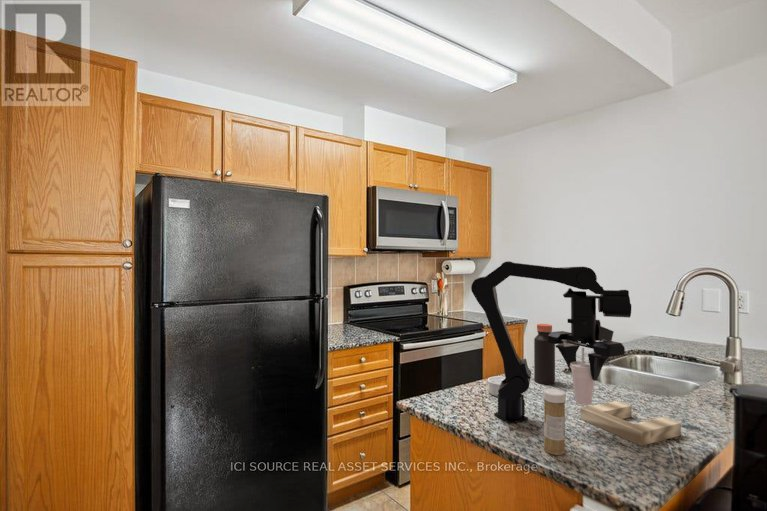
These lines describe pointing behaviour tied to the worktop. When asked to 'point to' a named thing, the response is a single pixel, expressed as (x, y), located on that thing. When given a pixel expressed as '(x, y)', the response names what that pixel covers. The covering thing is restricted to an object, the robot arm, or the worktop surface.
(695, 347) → the worktop surface
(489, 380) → the ramekin
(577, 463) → the worktop surface
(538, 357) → the vinegar
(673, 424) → the slot board
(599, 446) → the worktop surface
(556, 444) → the sprinkles bottle
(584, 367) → the smoothie
